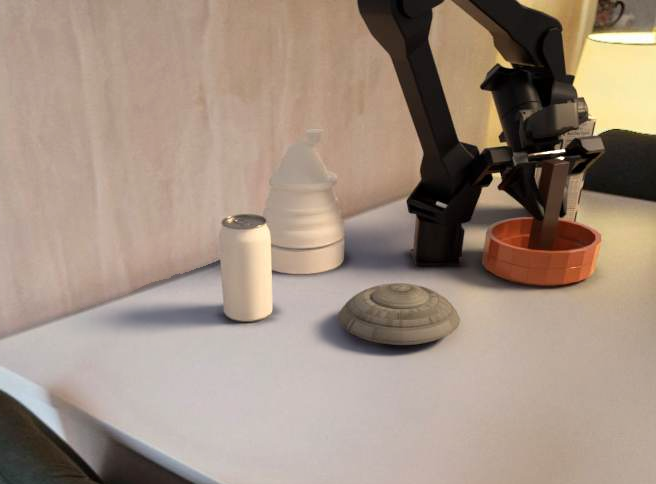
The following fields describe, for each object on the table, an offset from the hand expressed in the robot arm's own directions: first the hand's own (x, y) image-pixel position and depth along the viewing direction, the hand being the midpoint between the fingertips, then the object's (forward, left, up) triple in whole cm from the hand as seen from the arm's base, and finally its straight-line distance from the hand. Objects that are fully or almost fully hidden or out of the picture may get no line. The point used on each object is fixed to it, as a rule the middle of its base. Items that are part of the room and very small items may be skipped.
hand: (552, 218), depth 105 cm
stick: (0, +1, -7) cm, 7 cm away
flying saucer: (-23, -18, -8) cm, 30 cm away
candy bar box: (+9, +24, -8) cm, 27 cm away
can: (-42, -12, -8) cm, 45 cm away
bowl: (0, +1, -8) cm, 8 cm away
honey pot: (-34, +8, -8) cm, 36 cm away
